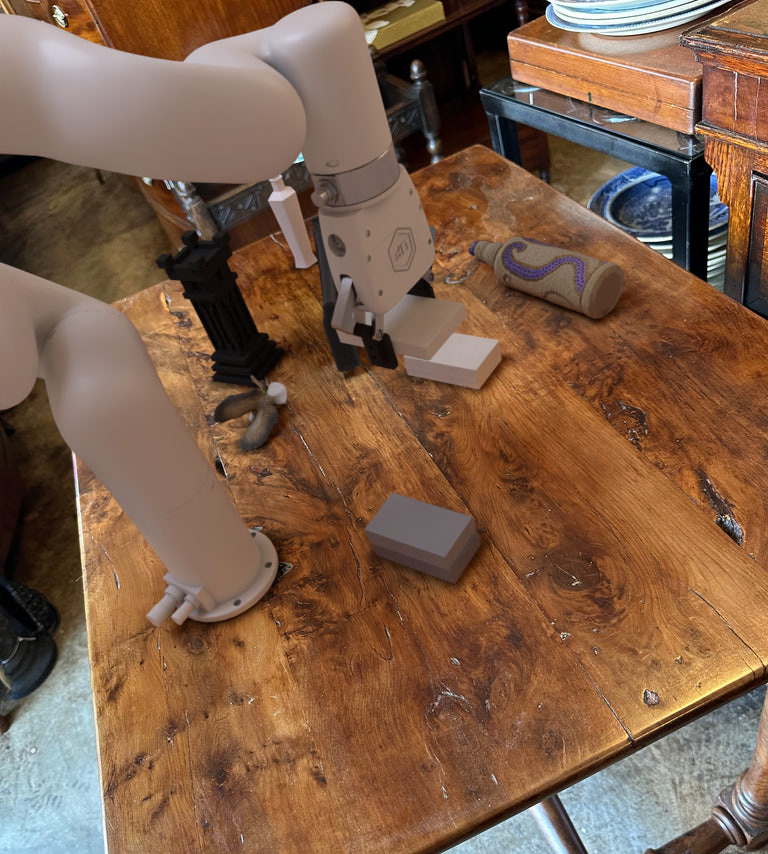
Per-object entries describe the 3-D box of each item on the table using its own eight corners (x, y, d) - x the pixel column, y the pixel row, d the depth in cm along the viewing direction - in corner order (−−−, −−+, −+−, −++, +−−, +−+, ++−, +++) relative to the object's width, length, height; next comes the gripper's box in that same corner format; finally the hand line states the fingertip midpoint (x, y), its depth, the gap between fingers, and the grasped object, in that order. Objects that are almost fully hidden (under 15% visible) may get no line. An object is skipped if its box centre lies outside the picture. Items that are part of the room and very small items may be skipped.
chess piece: (213, 381, 117) (150, 262, 103) (243, 347, 121) (186, 228, 107) (255, 387, 113) (196, 264, 99) (284, 352, 117) (231, 229, 103)
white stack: (480, 390, 100) (476, 370, 97) (407, 375, 106) (401, 356, 103) (503, 359, 102) (499, 339, 100) (431, 346, 108) (426, 327, 106)
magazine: (346, 329, 100) (313, 171, 114) (322, 336, 100) (291, 178, 114) (375, 403, 115) (343, 255, 129) (354, 409, 116) (324, 261, 129)
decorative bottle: (630, 299, 104) (627, 254, 99) (591, 330, 102) (587, 285, 97) (494, 250, 121) (486, 210, 116) (458, 276, 119) (449, 236, 114)
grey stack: (455, 584, 80) (446, 557, 77) (375, 555, 86) (363, 529, 83) (481, 544, 83) (474, 517, 80) (402, 518, 88) (392, 492, 85)
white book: (429, 361, 74) (425, 347, 73) (340, 342, 80) (335, 329, 79) (467, 316, 77) (464, 303, 76) (378, 302, 83) (374, 289, 82)
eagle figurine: (246, 395, 110) (206, 429, 104) (256, 358, 105) (215, 392, 99) (290, 425, 110) (253, 461, 104) (303, 390, 104) (264, 426, 98)
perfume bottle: (289, 263, 135) (257, 179, 124) (312, 252, 136) (282, 168, 125) (298, 273, 132) (266, 188, 121) (321, 262, 132) (291, 176, 122)
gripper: (328, 233, 61) (388, 404, 74) (445, 124, 69) (481, 296, 81) (260, 225, 65) (328, 389, 78) (377, 123, 73) (422, 287, 86)
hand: (406, 340), depth 80 cm, fingers closed on white book, 7 cm apart
